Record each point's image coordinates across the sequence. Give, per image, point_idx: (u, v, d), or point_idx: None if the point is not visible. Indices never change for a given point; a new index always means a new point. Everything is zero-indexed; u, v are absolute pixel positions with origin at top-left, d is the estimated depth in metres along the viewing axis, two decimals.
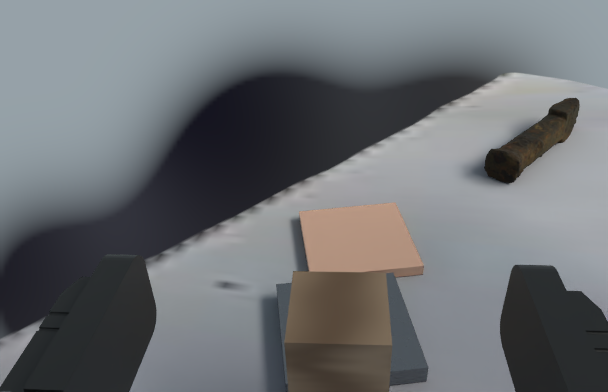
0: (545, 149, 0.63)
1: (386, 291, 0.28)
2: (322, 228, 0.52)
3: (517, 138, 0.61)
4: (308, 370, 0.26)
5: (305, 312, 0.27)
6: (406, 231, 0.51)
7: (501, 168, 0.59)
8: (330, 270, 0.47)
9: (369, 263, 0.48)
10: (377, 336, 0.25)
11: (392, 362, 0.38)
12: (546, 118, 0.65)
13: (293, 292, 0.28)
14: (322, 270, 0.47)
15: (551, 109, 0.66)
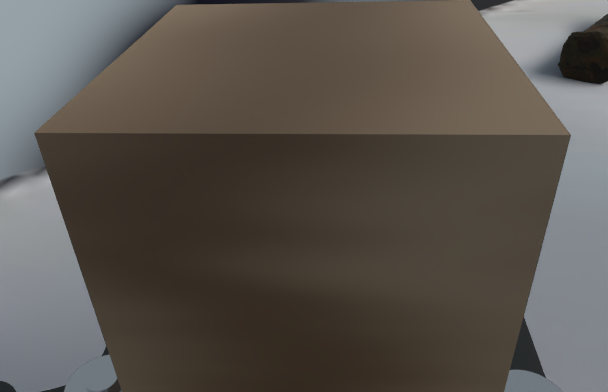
0: None
1: (484, 24, 0.08)
2: None
3: (603, 20, 0.41)
4: (172, 285, 0.06)
5: (175, 64, 0.07)
6: None
7: (589, 60, 0.39)
8: None
9: None
10: (483, 110, 0.05)
11: None
12: None
13: (155, 32, 0.08)
14: None
15: None
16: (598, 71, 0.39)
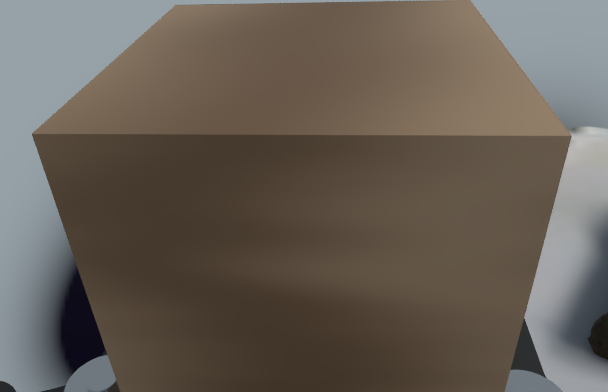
0: None
1: (484, 24, 0.08)
2: None
3: None
4: (170, 286, 0.06)
5: (174, 65, 0.07)
6: None
7: None
8: None
9: None
10: (483, 110, 0.05)
11: None
12: None
13: (154, 32, 0.08)
14: None
15: None
16: None
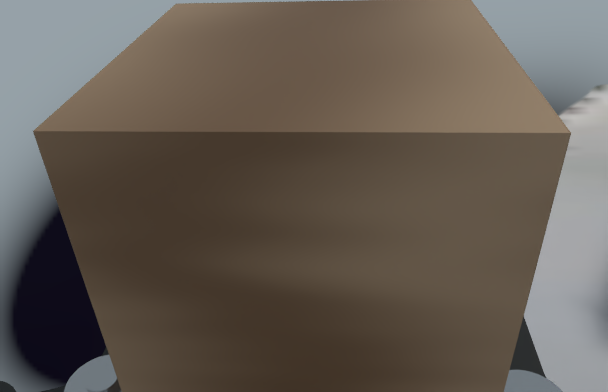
0: None
1: (483, 22, 0.08)
2: None
3: None
4: (171, 284, 0.06)
5: (174, 63, 0.07)
6: None
7: None
8: None
9: None
10: (483, 107, 0.05)
11: None
12: None
13: (154, 30, 0.08)
14: None
15: None
16: None
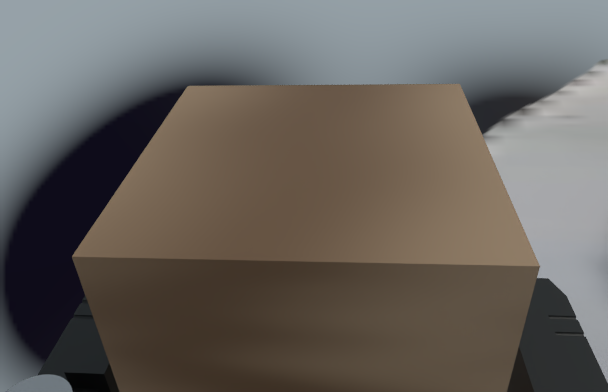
0: None
1: (471, 118, 0.08)
2: None
3: None
4: (190, 374, 0.07)
5: (191, 169, 0.07)
6: None
7: None
8: None
9: None
10: (465, 233, 0.06)
11: None
12: None
13: (170, 124, 0.09)
14: None
15: None
16: None
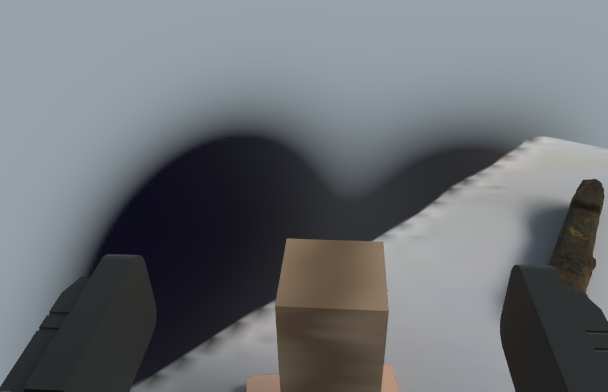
0: None
1: (383, 259, 0.27)
2: None
3: (562, 258, 0.43)
4: (299, 337, 0.25)
5: (297, 277, 0.26)
6: None
7: None
8: None
9: None
10: (373, 301, 0.24)
11: None
12: (575, 215, 0.48)
13: (286, 258, 0.27)
14: None
15: (577, 201, 0.49)
16: None
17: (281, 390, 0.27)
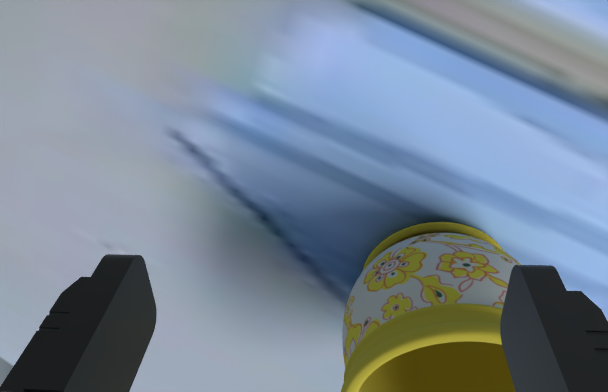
0: None
1: None
2: None
3: None
4: None
5: None
6: None
7: None
8: None
9: None
10: None
11: None
12: None
13: None
14: None
15: None
16: None
17: None
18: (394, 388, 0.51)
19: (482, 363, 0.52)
